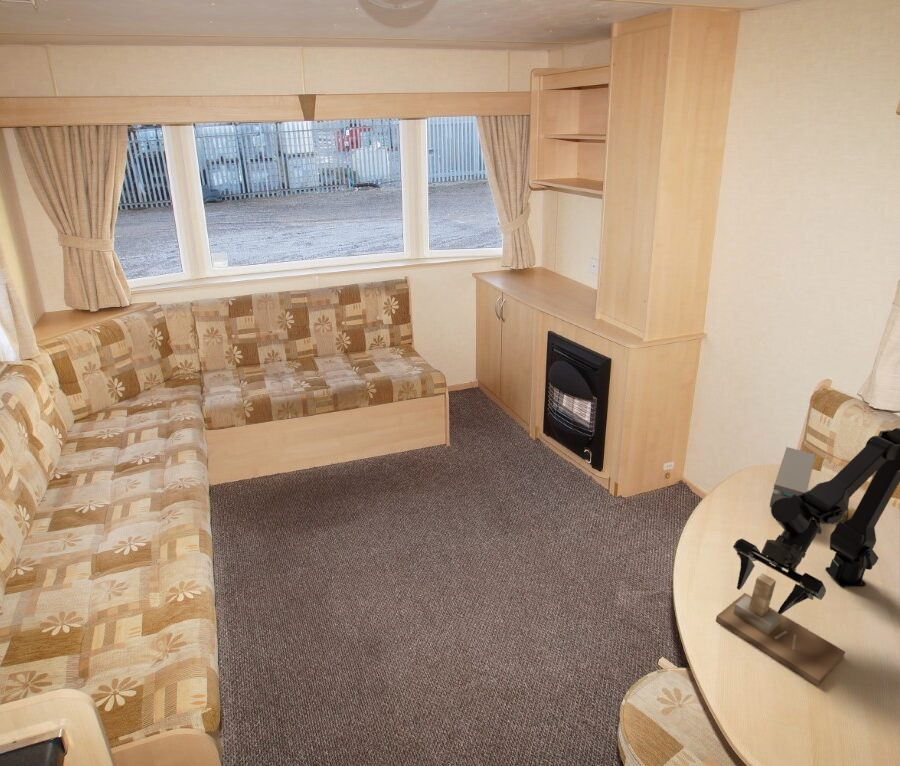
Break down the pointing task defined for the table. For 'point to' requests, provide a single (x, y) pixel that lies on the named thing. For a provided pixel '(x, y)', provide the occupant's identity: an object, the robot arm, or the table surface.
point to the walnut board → (787, 644)
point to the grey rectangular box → (793, 474)
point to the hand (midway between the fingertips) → (757, 601)
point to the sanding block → (759, 605)
